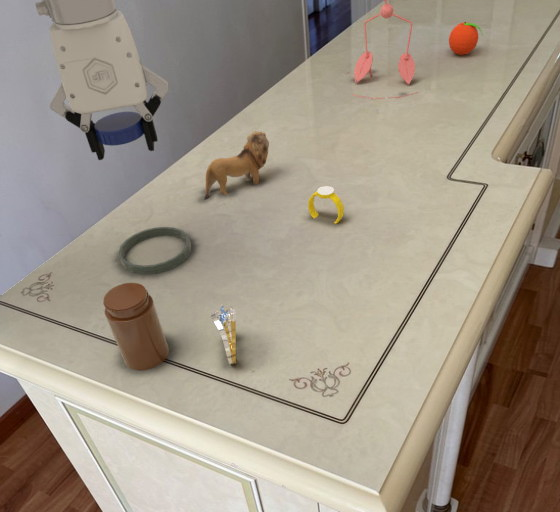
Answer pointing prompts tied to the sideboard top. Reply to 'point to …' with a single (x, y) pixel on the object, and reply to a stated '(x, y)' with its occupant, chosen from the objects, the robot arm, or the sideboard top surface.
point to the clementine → (463, 38)
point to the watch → (326, 193)
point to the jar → (135, 326)
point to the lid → (119, 128)
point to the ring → (227, 330)
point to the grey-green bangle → (160, 266)
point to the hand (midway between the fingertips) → (126, 150)
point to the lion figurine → (239, 163)
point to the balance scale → (365, 61)
